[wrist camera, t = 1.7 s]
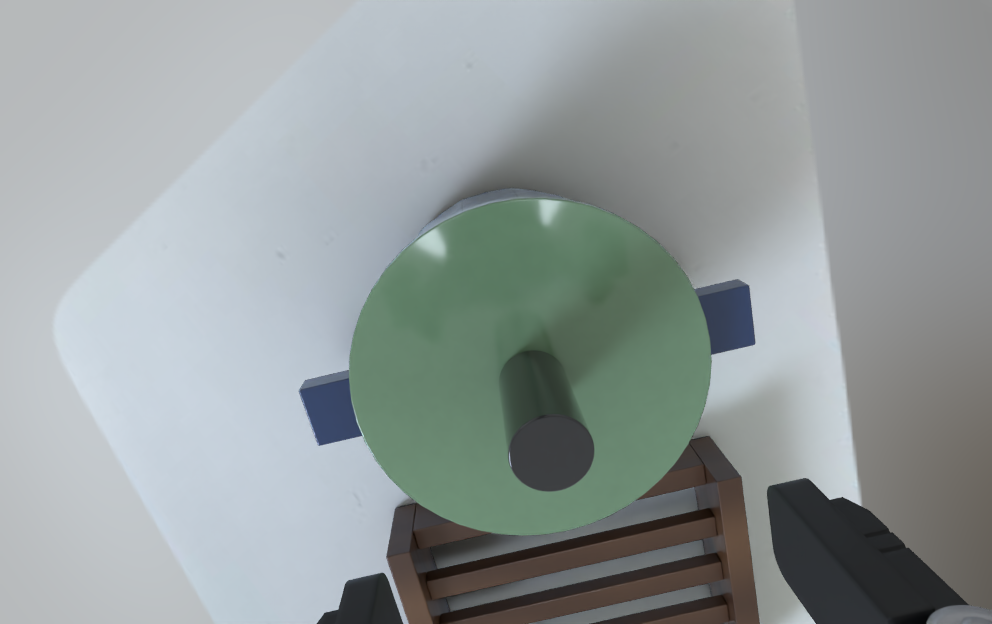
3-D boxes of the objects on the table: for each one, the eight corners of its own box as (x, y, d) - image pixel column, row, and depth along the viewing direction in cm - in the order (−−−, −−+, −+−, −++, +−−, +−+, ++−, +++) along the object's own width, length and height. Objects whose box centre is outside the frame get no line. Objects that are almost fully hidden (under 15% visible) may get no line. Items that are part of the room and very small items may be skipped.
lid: (307, 242, 21) (245, 288, 15) (674, 154, 21) (758, 166, 15) (407, 547, 25) (389, 680, 19) (718, 476, 24) (799, 589, 19)
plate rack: (394, 507, 33) (385, 557, 29) (709, 435, 33) (741, 476, 29) (461, 711, 38) (461, 777, 34) (739, 650, 37) (770, 710, 34)
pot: (309, 234, 29) (248, 277, 21) (664, 149, 28) (745, 159, 20) (379, 448, 32) (350, 557, 24) (696, 374, 32) (776, 460, 24)
